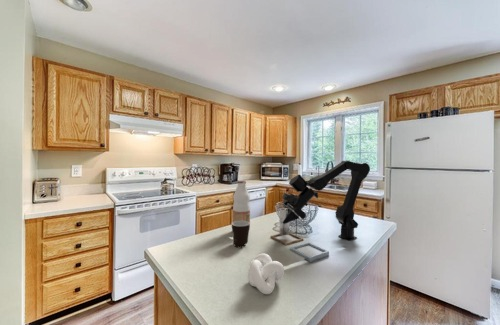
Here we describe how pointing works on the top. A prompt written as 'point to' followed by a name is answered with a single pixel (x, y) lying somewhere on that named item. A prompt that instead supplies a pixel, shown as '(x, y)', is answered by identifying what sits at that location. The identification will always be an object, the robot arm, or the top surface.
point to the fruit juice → (241, 203)
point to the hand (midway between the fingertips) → (281, 221)
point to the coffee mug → (240, 233)
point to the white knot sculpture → (264, 273)
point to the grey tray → (312, 258)
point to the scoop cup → (282, 215)
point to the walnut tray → (286, 238)
